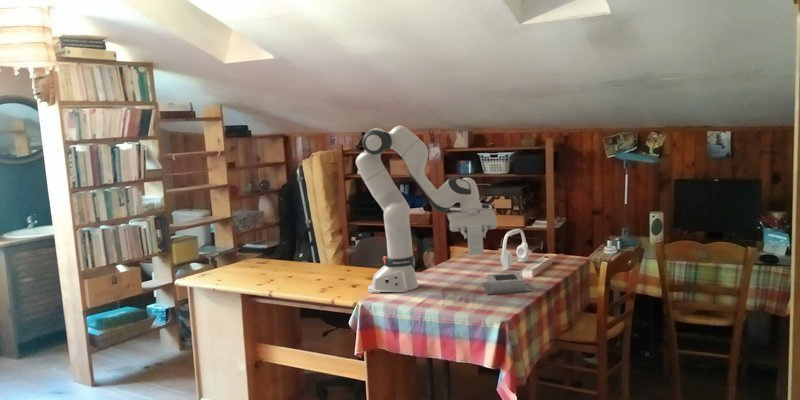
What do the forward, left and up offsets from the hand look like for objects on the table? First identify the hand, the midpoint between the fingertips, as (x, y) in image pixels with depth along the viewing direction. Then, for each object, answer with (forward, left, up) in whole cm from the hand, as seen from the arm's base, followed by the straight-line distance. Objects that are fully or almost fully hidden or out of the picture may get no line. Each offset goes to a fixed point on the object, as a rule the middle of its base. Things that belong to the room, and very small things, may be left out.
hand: (475, 237), depth 271 cm
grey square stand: (+12, +2, -23) cm, 26 cm away
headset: (+23, +40, -23) cm, 51 cm away
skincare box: (0, +1, -7) cm, 7 cm away
